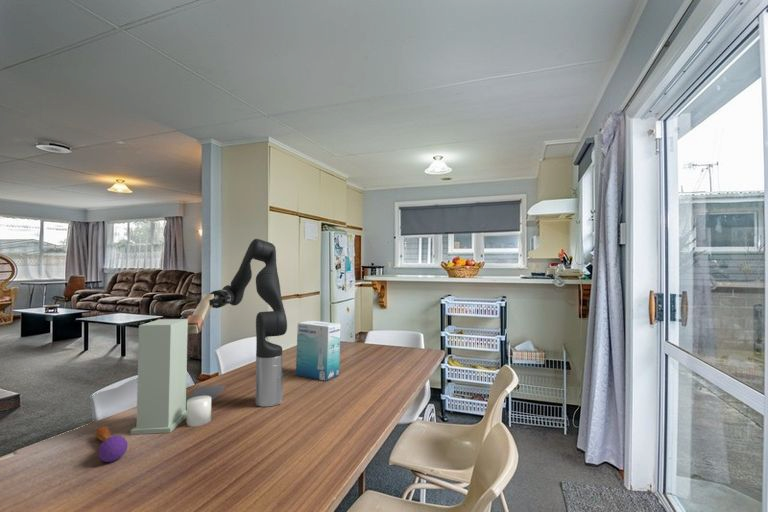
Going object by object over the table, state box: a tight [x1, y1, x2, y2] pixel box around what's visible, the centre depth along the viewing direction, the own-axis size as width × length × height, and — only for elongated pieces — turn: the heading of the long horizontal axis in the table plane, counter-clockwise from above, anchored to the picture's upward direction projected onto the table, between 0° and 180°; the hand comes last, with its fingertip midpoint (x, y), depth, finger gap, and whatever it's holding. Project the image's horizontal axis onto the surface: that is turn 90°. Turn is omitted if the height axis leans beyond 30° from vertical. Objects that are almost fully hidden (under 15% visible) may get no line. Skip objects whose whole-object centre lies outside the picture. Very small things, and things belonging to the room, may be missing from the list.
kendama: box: [94, 425, 128, 463], centre depth 95 cm, size 6×6×20 cm
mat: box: [186, 385, 226, 410], centre depth 133 cm, size 10×22×1 cm, turn 7°
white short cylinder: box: [185, 396, 212, 427], centre depth 113 cm, size 7×7×7 cm
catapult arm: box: [186, 293, 214, 335], centre depth 134 cm, size 4×20×4 cm, turn 7°
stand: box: [130, 318, 188, 435], centre depth 112 cm, size 11×14×32 cm
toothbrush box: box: [295, 320, 342, 382], centre depth 161 cm, size 18×10×24 cm, turn 63°
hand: (204, 302), depth 138 cm, fingers closed on catapult arm, 3 cm apart
